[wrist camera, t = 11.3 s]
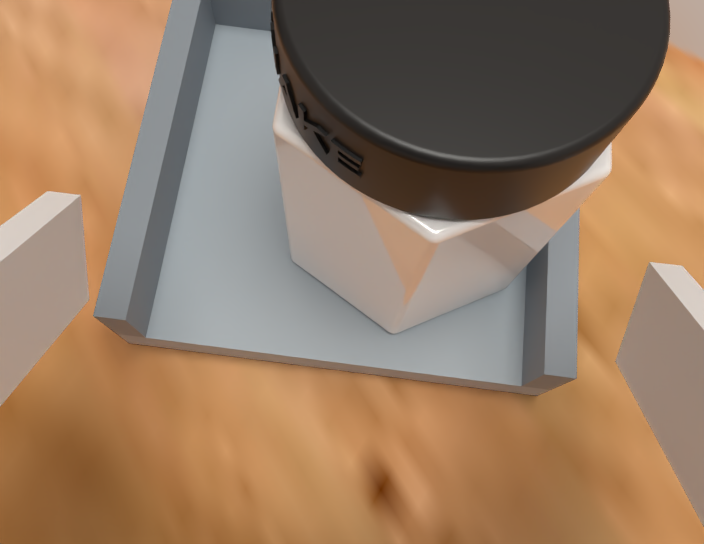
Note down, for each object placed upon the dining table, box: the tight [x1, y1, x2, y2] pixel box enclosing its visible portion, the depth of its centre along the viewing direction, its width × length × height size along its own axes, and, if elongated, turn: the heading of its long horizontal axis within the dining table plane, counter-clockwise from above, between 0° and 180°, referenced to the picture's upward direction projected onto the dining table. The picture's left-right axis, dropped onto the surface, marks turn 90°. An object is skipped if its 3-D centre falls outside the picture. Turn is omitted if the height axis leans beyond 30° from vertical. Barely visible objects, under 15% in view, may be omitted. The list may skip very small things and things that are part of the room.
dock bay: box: [93, 0, 580, 396], centre depth 25 cm, size 15×14×4 cm
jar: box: [270, 0, 670, 334], centre depth 19 cm, size 9×8×12 cm
